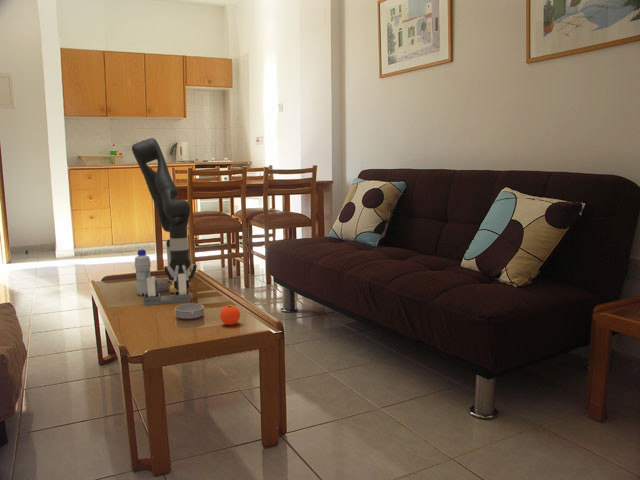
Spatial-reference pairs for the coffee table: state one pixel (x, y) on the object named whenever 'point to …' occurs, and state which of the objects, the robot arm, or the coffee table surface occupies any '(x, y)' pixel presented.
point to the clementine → (230, 315)
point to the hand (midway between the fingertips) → (181, 289)
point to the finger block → (181, 283)
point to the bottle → (142, 271)
